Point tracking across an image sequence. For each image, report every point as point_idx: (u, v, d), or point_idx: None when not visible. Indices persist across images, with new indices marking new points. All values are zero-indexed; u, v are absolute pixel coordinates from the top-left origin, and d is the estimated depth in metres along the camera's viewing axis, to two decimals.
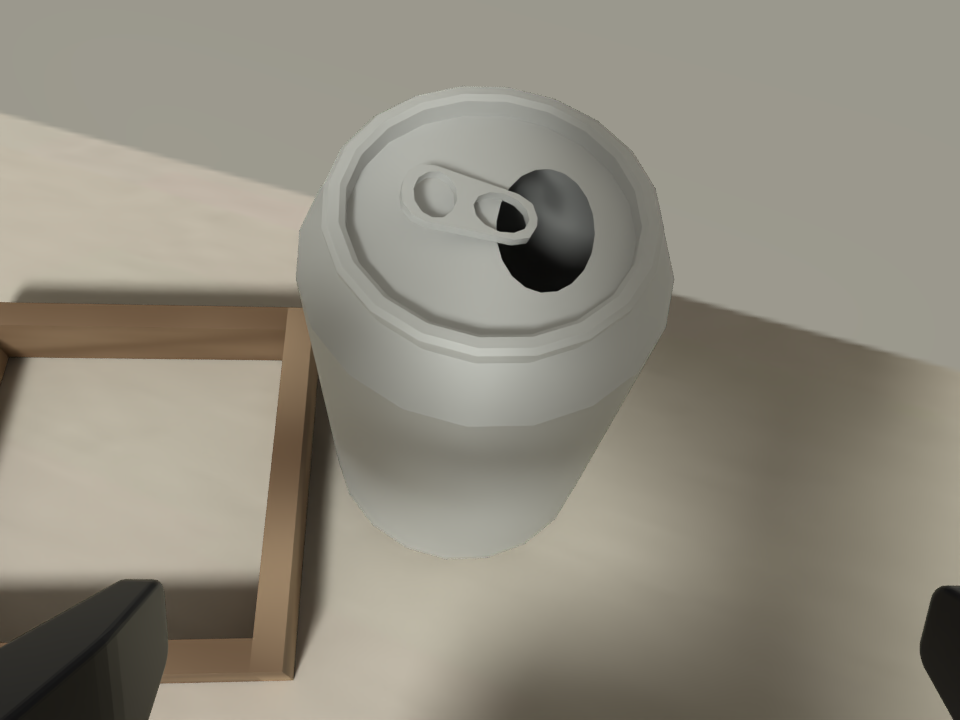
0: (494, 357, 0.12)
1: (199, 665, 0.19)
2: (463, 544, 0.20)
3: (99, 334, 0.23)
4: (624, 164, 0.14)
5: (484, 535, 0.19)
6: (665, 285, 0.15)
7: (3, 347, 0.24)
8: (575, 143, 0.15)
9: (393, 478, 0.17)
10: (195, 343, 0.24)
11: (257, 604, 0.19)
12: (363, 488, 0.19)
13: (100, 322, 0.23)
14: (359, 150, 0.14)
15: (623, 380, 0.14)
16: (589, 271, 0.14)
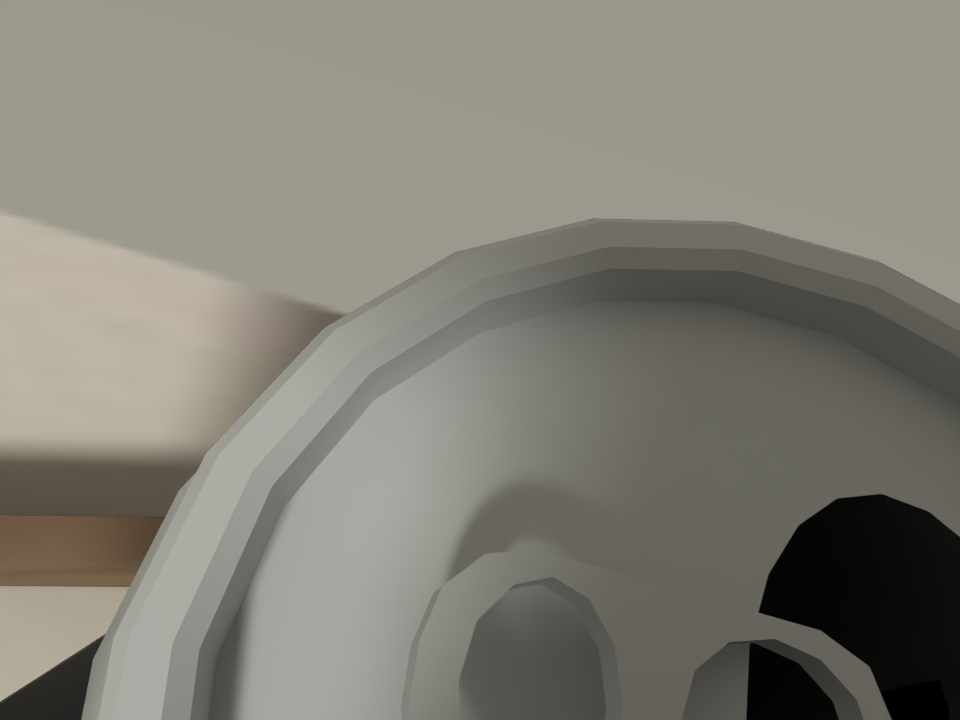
0: None
1: None
2: None
3: None
4: None
5: None
6: None
7: None
8: (934, 394, 0.05)
9: None
10: (49, 574, 0.14)
11: None
12: None
13: None
14: (264, 473, 0.04)
15: None
16: None
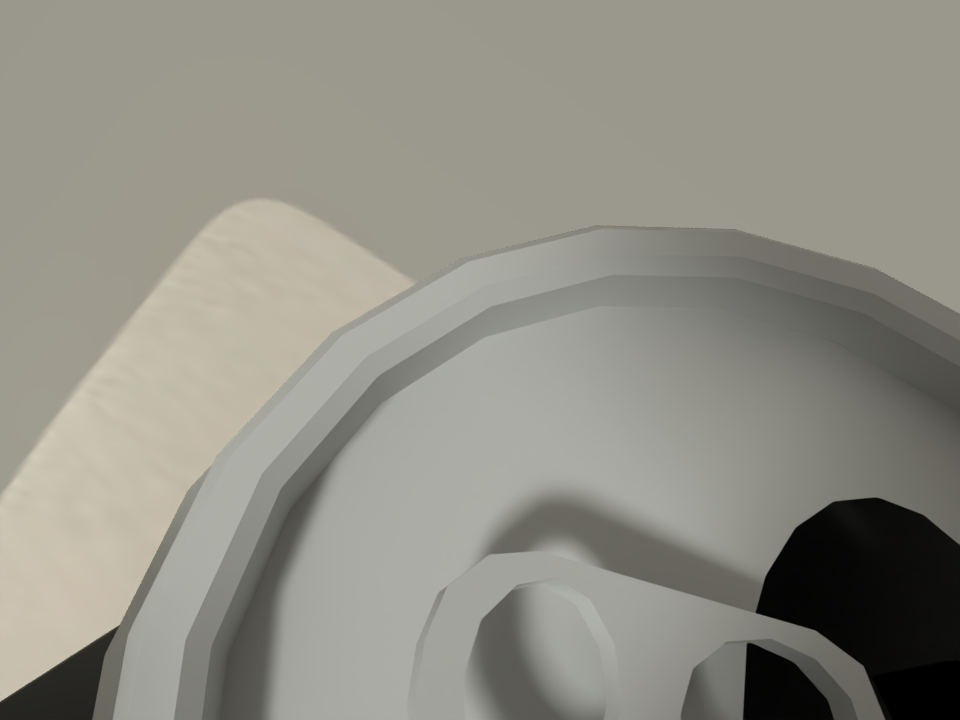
0: None
1: None
2: None
3: None
4: None
5: None
6: None
7: None
8: (929, 399, 0.05)
9: None
10: None
11: None
12: None
13: None
14: (274, 475, 0.04)
15: None
16: None
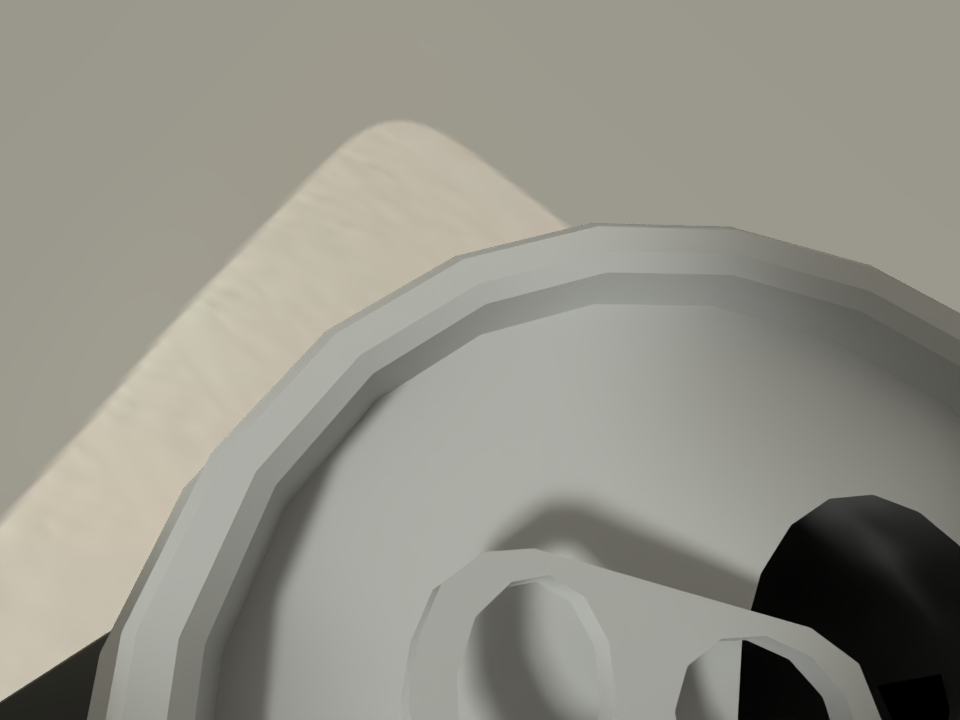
0: None
1: None
2: None
3: None
4: None
5: None
6: None
7: None
8: (924, 396, 0.05)
9: None
10: None
11: None
12: None
13: None
14: (268, 473, 0.04)
15: None
16: None
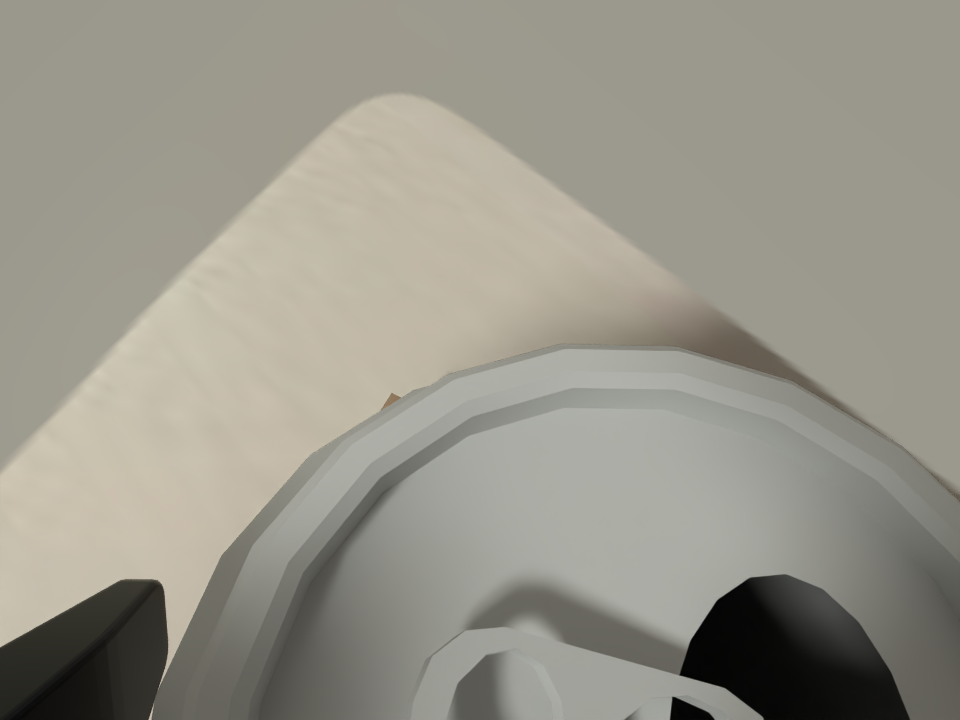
0: None
1: None
2: None
3: None
4: None
5: None
6: None
7: None
8: (835, 489, 0.06)
9: None
10: None
11: None
12: None
13: None
14: (297, 562, 0.05)
15: None
16: None
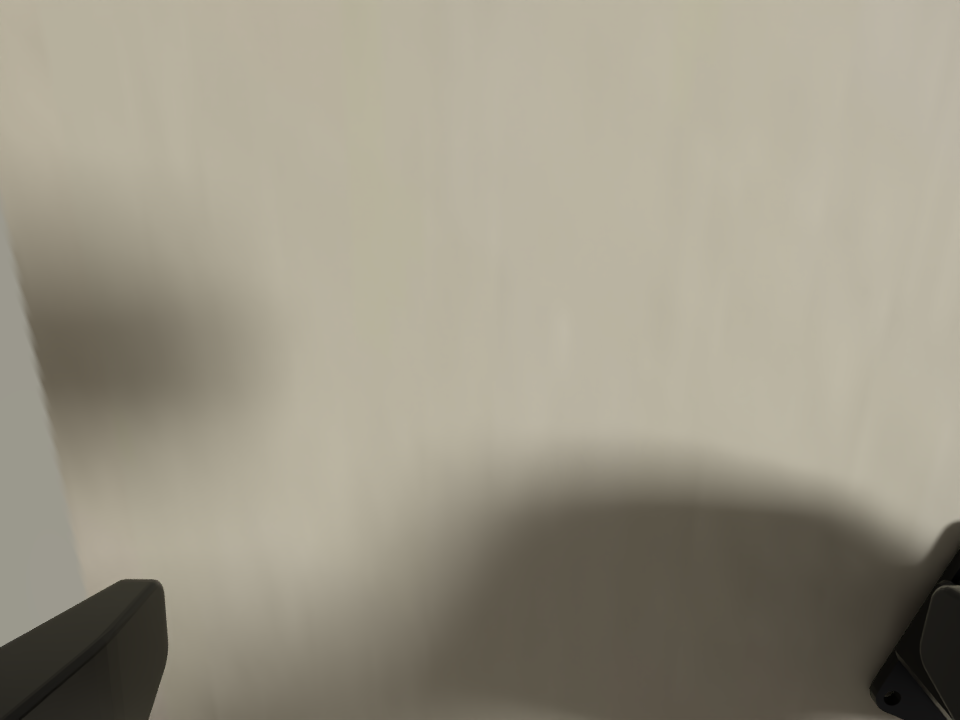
0: None
1: None
2: None
3: None
4: None
5: None
6: None
7: None
8: None
9: None
10: None
11: None
12: None
13: None
14: None
15: None
16: None
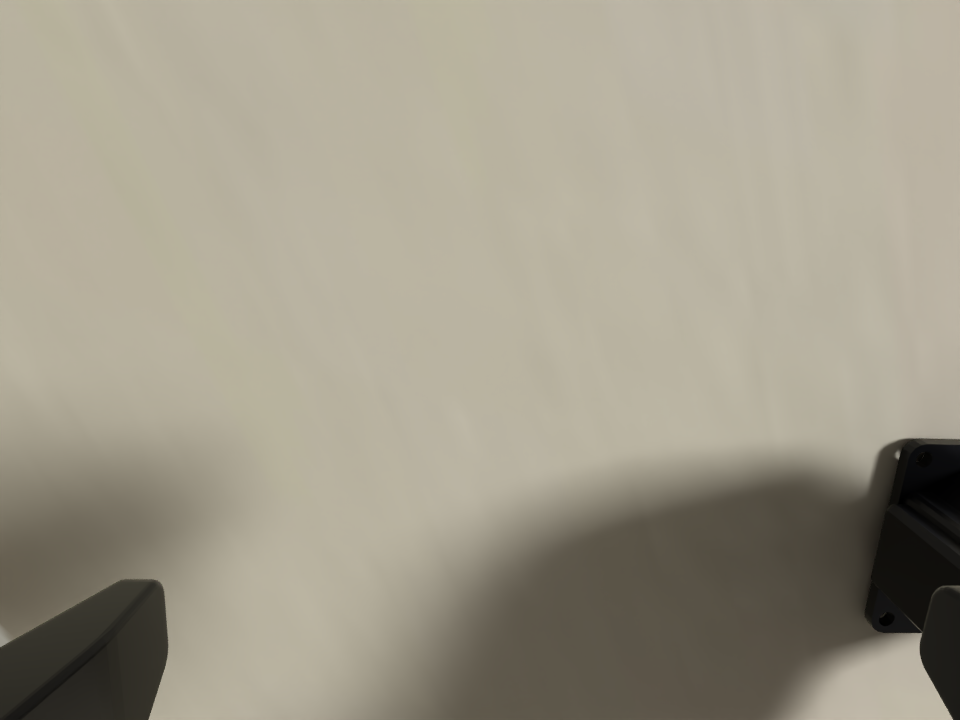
0: None
1: None
2: None
3: None
4: None
5: None
6: None
7: None
8: None
9: None
10: None
11: None
12: None
13: None
14: None
15: None
16: None
